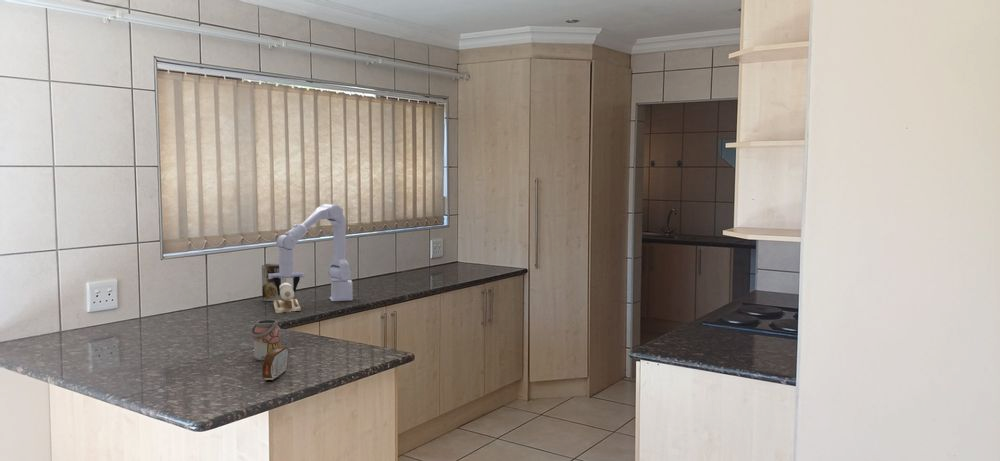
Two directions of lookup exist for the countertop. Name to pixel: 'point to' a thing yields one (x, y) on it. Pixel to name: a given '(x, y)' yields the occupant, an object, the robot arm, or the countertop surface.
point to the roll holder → (286, 305)
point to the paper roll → (286, 291)
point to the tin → (275, 361)
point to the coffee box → (270, 283)
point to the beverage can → (265, 337)
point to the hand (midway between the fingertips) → (286, 294)
